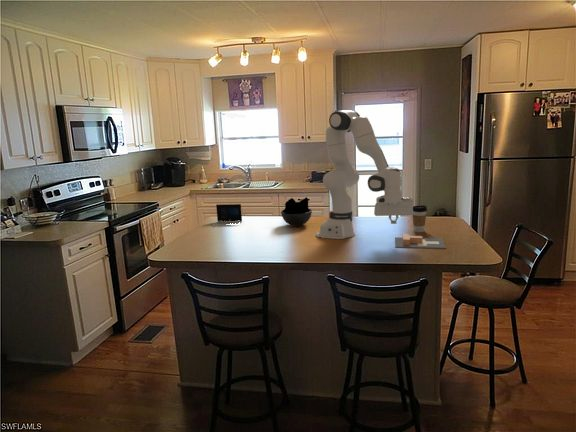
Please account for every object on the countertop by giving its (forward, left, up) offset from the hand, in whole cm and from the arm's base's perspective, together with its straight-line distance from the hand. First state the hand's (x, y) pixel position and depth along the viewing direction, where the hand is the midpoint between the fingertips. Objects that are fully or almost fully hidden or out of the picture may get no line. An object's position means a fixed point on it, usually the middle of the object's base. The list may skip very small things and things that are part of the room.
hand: (393, 223), depth 226 cm
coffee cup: (+15, +26, -11) cm, 32 cm away
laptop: (-111, +38, -11) cm, 118 cm away
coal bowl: (-61, +35, -11) cm, 72 cm away
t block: (+10, 0, -10) cm, 14 cm away
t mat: (+13, 0, -11) cm, 17 cm away
